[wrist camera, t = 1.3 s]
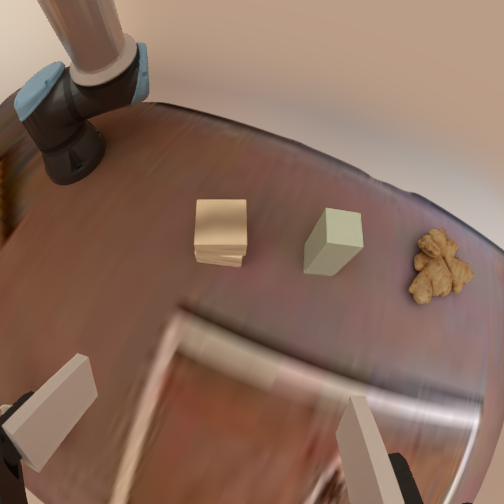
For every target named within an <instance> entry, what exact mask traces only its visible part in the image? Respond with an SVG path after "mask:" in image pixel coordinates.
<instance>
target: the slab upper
mask: <svg viewBox="0 0 504 504" xmlns="http://www.w3.org/2000/svg"><path fill="white" fill-rule="evenodd" d="M194 246H195V250H196V253H197V256H246V249H247V218H246V200H197V208H196V222H195V237H194Z"/></svg>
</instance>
